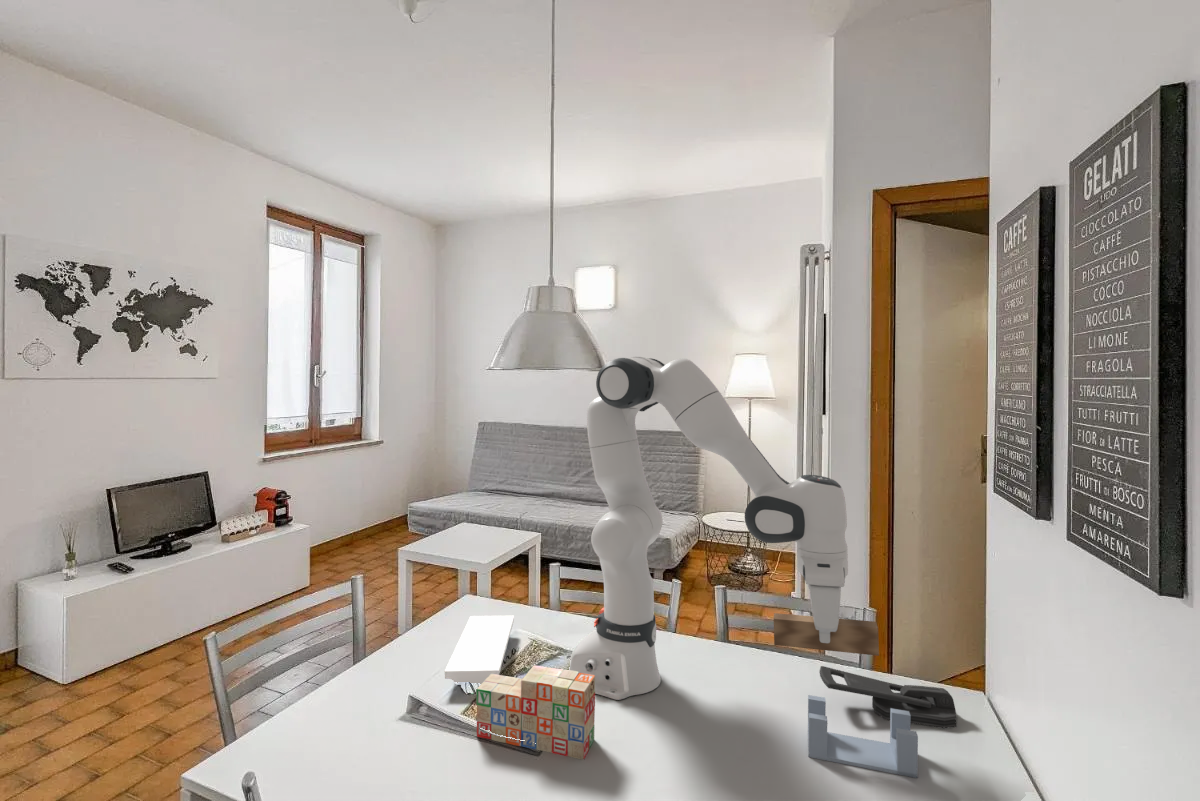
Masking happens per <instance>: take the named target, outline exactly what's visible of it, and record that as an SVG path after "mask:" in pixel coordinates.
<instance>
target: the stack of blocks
mask: <svg viewBox="0 0 1200 801" xmlns="http://www.w3.org/2000/svg"><path fill="white" fill-rule="evenodd" d="M475 695H476V697H475V698H476V699H475V700H476V701H475V704H476V737H477V738H481V739H486V740H487V739H488V740H491V741H494V742H499V743H504V744H507V745H513V746H517V747H524V748H527V749H533V750H537V751H543V752H547V753H552V754H555V755H561V756H565V757H569V758H574V759H578V760H585V758H586V756H587V755H588V753H589V751H590V749H591V746H592V745H593V743H594V741H595V712H596V710H595V709H596V694H595V675H590V674H584V673H579V672H578V671H572V670H563V669H562V668H554V667H547V666H542V665H541V666H540V665H533V666H532V667H531V668H530V669H529V670H528V672H527V673H526V674H525V676H524V677H523V678H520V677H515V676H514V677H513V676H506V675H502V674H499V675H497V674H491V675H490V676H489V677H488V678H487V679H486V680H485V681H484V682H483V683H482V684H481V685H480V686H479V687H478V688H477V689H476V694H475ZM479 728H483V729H485V730H490V731H491V732H492V733H495V734H498V735H503V736H506V737H512V738H515V739H520V740H525V741H520V740H515V739H512V738H511V739H510V738H505V737H500V736H495V735H491V734H489V733H484V732H482V731H480V730H479ZM533 742H534V743H533ZM535 743H536V744H535Z"/></svg>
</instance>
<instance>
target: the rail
mask: <svg viewBox="0 0 1200 801" xmlns="http://www.w3.org/2000/svg"><path fill="white" fill-rule="evenodd" d="M879 640H880V639H879V627H878V624H877V621H873V620H872V621H870V620H860V619H850V618H849V619H848V618H839V623H838V628H837V631H836V632H830V643H821V642H820V639H819V630H816V628H815V625H814V620H813V615H802V614H801V615H800V614H787V613H778V612H774V613H773V642H774V643H773V644H774V646H780V647H788V648H789V647H790V648H800V649H810V650H817V651H819V650H820V651H828V652H838V653H847V654H848V653H849V654H857V655H858V654H859V655H868V656H869V655H870V656H875V657H876V656H880V650H879V649H880V646H879Z"/></svg>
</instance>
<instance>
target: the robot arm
mask: <svg viewBox="0 0 1200 801" xmlns="http://www.w3.org/2000/svg"><path fill="white" fill-rule="evenodd" d="M595 380H596V391H597V393H598V395H599V396H597V397H595V398H594V399H593V400H591V401H590V402H589V404H588V406H587V410H586V411H587V412H586V427H587V438H588V439H587V440H588V445H589V452H590V457H591V458H590V459H591V463H592V470H593V474H594V481H595V483H596V484H597V486H598V487H599V488H600V490H601V491H602V493H603V495H604V498H605V500H606V502H607V503H606V504H607V505H608V509H609V511H608V512H606V513H605V514H603V515H602V516H601V517H600V518H599V520H598V521H597V522H596V523H595V526H594V527H593V529H592V531H591V532H592V533H591V535H590V536H591V537H590V541H591V547H592V550H593V551H594V553H595V555H596V556H597V557H598V560H599V564H600V568H601V572H602V578H603V607H602V608H601V609H600V610H599V612H598V614H597V616H596V617H595V620H594V621H593V624H594V625H593V627H594V628H595V629H594V630H592V631H591V632H590V633H587V635H584V636H583V637H582V638H581V639H579V641H578V642H576V645H575V646H574V648H573V650H572V652H571V655H570V659H571V660H570V659H569V660H570V667H569V670H572V671H578V672H579V673H584V674H590V675H595V695H599V696H602V697H606V698H609V699H612V700H614V701H615V700H617V701H618V700H619V701H620V700H624V699H626V698H628V697H632V696H638V695H642V694H646V693H649V692H652V691H654V690H656V689H657V688H658V687H659V686H660V684H661V682H662V678H661V674H660V671H659V666H658V662H657V654H656V647H655V646H656V645H655V644H656V640H657V624H656V622H657V620H656V616H655V614H654V611H655V610H654V609H655V608H654V605H655V600H654V599H655V596H654V594H655V593H654V592H655V590H654V589H655V588H654V585H655V584H654V579H653V577H652V576H651V573H650V569H649V568H650V567H649V562H648V549H649V546H651V545H652V544H653V543H654V542H655V541H656V540H657V539H658V537H659V535H660V533H661V530H662V527H663V515H662V512H661V510H660V508H659V507H658V505H656V502H655V499H654V496H653V493H652V491H651V489H650V486H649V483H648V480H647V477H646V474H645V470H644V465H643V459H642V453H641V449H640V445H639V444H640V443H639V439H638V433H637V427H636V416H637V415H638V413H639V412H645V411H647V410H648V409H651V408H652V407H653V406H656V405H657V404H660V405H661V406H663V407H664V409H665V410H666V411H667V412H668V415H670V417H671V419H672V420H673V421H674V424H675V425H677V427H678V429H679V431H681V434H683V435H684V436H685V437H686V439H688V440H689V441H690V442H691V443H692V445H694V446H695V447H697V448H699V449H701V450H705V451H708V452H711V453H714V454H716V455H719V456H720V457H722V458H724V459H725V460H726V461H728V463H730V464H731V465H732V466H733V468H734V469H735V470H736V471H737V473H738V474H739V475H740V476H741V479H743V480H744V482H745V483H746V485H747V486H748V487H749V489H750V490H751V491H752V492H753V494H754V496H755V497H754V498H752V499H751V500H750V501H749V503H748V504H747V505H746V508H745V512H744V521H745V522H744V523H745V526H746V528H747V530H748V531H749V533H750V534H751V535H752V536H753V537H754V538H755V539H757V540H758V541H761V542H762V543H766V544H781V543H789V542H790V543H791V542H795V543H796V558H797V559H796V560H797V562H796V563H797V565H796V566H797V572H798V573H799V574H801V576H802V577H803V579H804V582H805V584H806V585H807V588H808V591H809V599H810V605H811V613H812V616H813V620H814V625H815V628H816V630H819V639H820V642H821V643H830V632H836V631H837V628H838V623H839V619H840V611H841V596H842V588H844V587H845V582H846V580H845V579H846V578H847V576H848V575H849V560H848V544H847V542H846V538H845V537H846V530H847V524H848V522H847V520H848V519H847V504H846V499H845V493H844V490H843V488H842V486H841V485H840V484H839V483H838V482H837V481H836V480H835V479H832V478H829V477H826V476H823V475H822V476H821V475H816V474H803V475H800V476H799V477H798V478H797V479H795V480H793V481H791V482H788V481H787V480H785V479H784V478H783V477H781V476H780V474H778V473H777V471H776V470H775V469H774V468H773V466H772V465H771V464H770V463H769V461H768V459H766V457H765V456H764V455H763V454H762V452H761V451H760V450H759V449H758V447H757V446H756V444H754V442H753V441H752V440H751V438H750V437H749V436H748V434H747V433H746V431H745V429H744V427H743V426H742V424H741V423H740V422H739V420H738V419H737V417H736V415H735V414H734V412H733V410H732V408H731V407H730V406H729V404H728V402H727V400H726V399H725V398H724V396H723V395H722V393H721V391H719V389H718V388H717V386H716V385H715V384H714V383H713V381H712V380H711V379H710V378H709V377H708V375H706V373H705V372H704V371H703V370H702V369H700V367H699V366H698V365H697V364H695V363H694V362H693V361H692V360H691V359H688V358H676V359H673V360H671V361H668V362H667V363H666V364H665V363H663V362H662V361H660V360H658V359H655V358H651V357H650V358H648V357H642V356H631V357H618V358H614V359H612V360H610V361H607V362H606V363H605V364H604V365H602V367H601V368H600V369H599V370H598V373H597V376H596V379H595Z"/></svg>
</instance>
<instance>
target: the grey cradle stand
mask: <svg viewBox="0 0 1200 801" xmlns="http://www.w3.org/2000/svg"><path fill="white" fill-rule="evenodd" d="M826 703H827V701H826V697H822V696H817V695H813V694H812V695H810V694H807V742H808V744H807V747H808V758H813V759H817V760H822V761H823V760H824V761H828V762H833V763H837V764H842V765H843V764H844V765H847V766H854V767H858V768H863V769H868V770H872V771H878V772H879V771H880V772H884V773H889V774H894V775H899V776H904V777H909V778H914V779H918V775H919V774H918V764H919V763H918V762H919V761H918V760H919V759H918V755H919V752H918V751H919V750H918V749H919V748H918V747H919V736H918V732H917V730H916V731H915V730H911V725H912V724H911V715H910V713H909V711H904V710H898V709H892V708H890V720H889V724H890V727H889V728H890V729H889V742H886V741H885V742H884V741H880V740H874V739H867V738H863V737H858V736H857V737H856V736H851V735H847V734H846V735H845V734H840V733H834V732H830V731H828V716H827V715H826V713H827V712H826Z"/></svg>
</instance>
